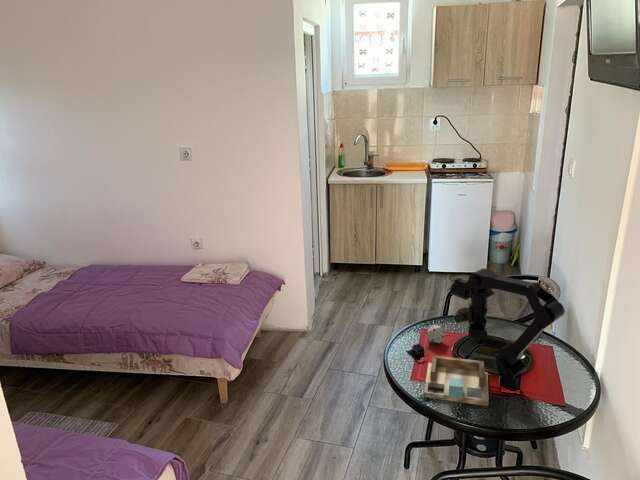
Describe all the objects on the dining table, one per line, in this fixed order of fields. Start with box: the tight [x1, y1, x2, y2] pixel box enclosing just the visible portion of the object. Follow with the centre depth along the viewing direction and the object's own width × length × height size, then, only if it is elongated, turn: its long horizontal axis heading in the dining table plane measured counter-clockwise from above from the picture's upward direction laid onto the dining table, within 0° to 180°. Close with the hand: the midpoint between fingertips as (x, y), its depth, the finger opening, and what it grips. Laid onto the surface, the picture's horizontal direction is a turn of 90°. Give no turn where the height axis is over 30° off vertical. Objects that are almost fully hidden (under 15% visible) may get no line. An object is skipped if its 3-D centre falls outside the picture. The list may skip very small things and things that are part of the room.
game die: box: [424, 322, 449, 346], centre depth 202 cm, size 9×8×10 cm
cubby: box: [430, 355, 485, 387], centre depth 179 cm, size 18×10×4 cm, turn 74°
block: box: [449, 378, 463, 399], centre depth 168 cm, size 4×4×4 cm
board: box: [423, 362, 490, 407], centre depth 176 cm, size 21×18×2 cm
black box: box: [405, 343, 426, 361], centre depth 195 cm, size 12×7×5 cm, turn 24°
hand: (476, 342), depth 180 cm, fingers closed
